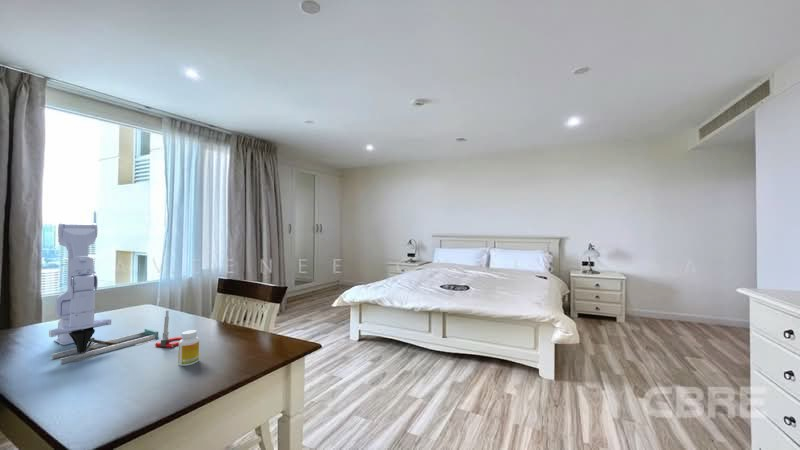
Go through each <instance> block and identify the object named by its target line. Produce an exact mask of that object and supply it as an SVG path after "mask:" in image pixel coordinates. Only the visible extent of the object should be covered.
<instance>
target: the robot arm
mask: <svg viewBox="0 0 800 450" xmlns="http://www.w3.org/2000/svg"><path fill="white" fill-rule="evenodd" d="M57 226H58V227H57V229H58V230H57V237H58V238H57V239H58V240H57V241H58V243H59V245H60V246H63V247H65V249H66V250H67V290H66V291H64V292H62V293H60V294H59V295H58V296H57V297H56V299H55V300H56V302H55V317H56V318H59V321H58V323H57V327H56V328H53V329H49V330H48V337H50V338H54V337H57V338H55V339H53V341H54V342H56V343H58V344H60V345H63V346H66V345H71V344H75V347H76V348H77V352H78V353H77V354H81V353H84V352H85V350H86V347H87V345H88V344H89V343H90V342H89V340H90V338H91V339H92V338H94V336H93V335H94V334H95V332H96V329H95V328H99V327H103V326H104V327H105V326H111V325H112V318H104V319H96V320H95V307H96V306H95V305H96V304H95V303H96V302H95V301H96V292H97V289H98V284H99V282H98V276H97V273H96V271H95V267H94V259H93V258H92V257H89V246H91V245H94V243H95V242H96V240H97V237H98V224H97V223H96V222H92V223H91V222H90V223H89V222H87V223H84V222H83V223H81V222H60V223H58V225H57Z"/></svg>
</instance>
